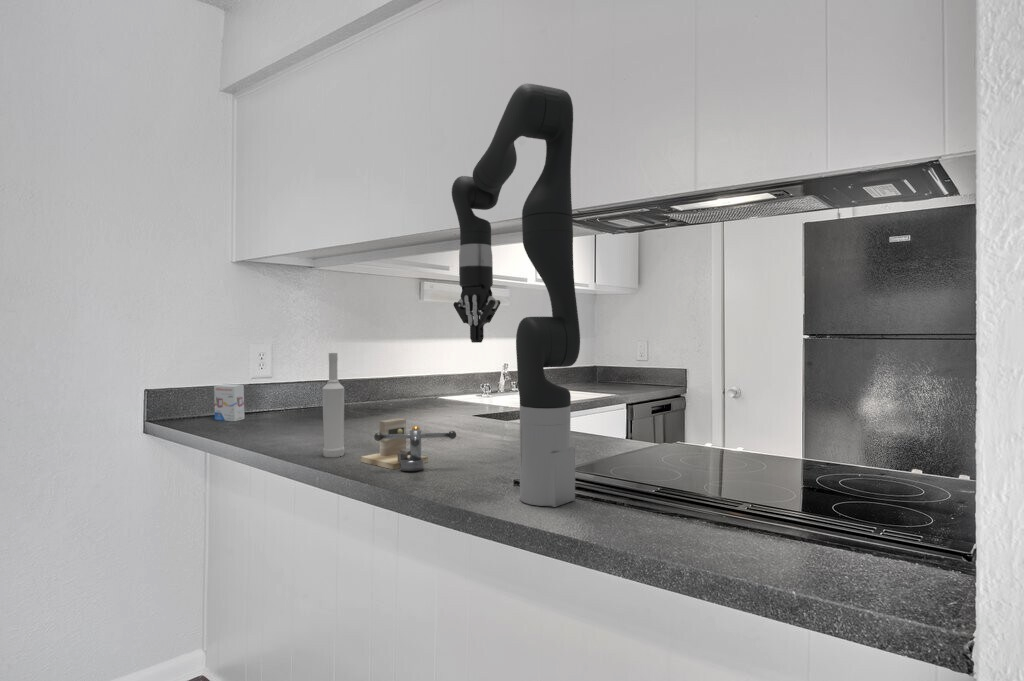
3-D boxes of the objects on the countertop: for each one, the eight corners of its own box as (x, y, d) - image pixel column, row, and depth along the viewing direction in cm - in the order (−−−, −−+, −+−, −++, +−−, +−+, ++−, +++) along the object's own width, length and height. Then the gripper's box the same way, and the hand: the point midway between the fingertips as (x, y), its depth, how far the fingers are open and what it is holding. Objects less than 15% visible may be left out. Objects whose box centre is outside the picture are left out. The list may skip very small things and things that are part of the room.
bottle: (318, 456, 153) (317, 353, 153) (333, 452, 158) (332, 352, 157) (334, 458, 151) (333, 353, 150) (349, 454, 155) (348, 352, 155)
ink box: (213, 420, 211) (213, 385, 211) (224, 418, 216) (223, 383, 216) (234, 421, 209) (234, 385, 208) (245, 419, 214) (244, 384, 213)
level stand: (434, 463, 145) (434, 423, 145) (400, 471, 138) (400, 429, 137) (395, 455, 155) (394, 417, 154) (360, 461, 147) (360, 422, 147)
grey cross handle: (454, 458, 149) (454, 423, 149) (458, 476, 131) (458, 436, 131) (377, 461, 146) (376, 425, 146) (371, 479, 129) (370, 439, 128)
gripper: (509, 264, 142) (509, 342, 142) (466, 269, 150) (467, 342, 150) (486, 262, 136) (487, 342, 136) (443, 266, 145) (444, 342, 145)
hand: (476, 342), depth 143 cm, fingers closed
